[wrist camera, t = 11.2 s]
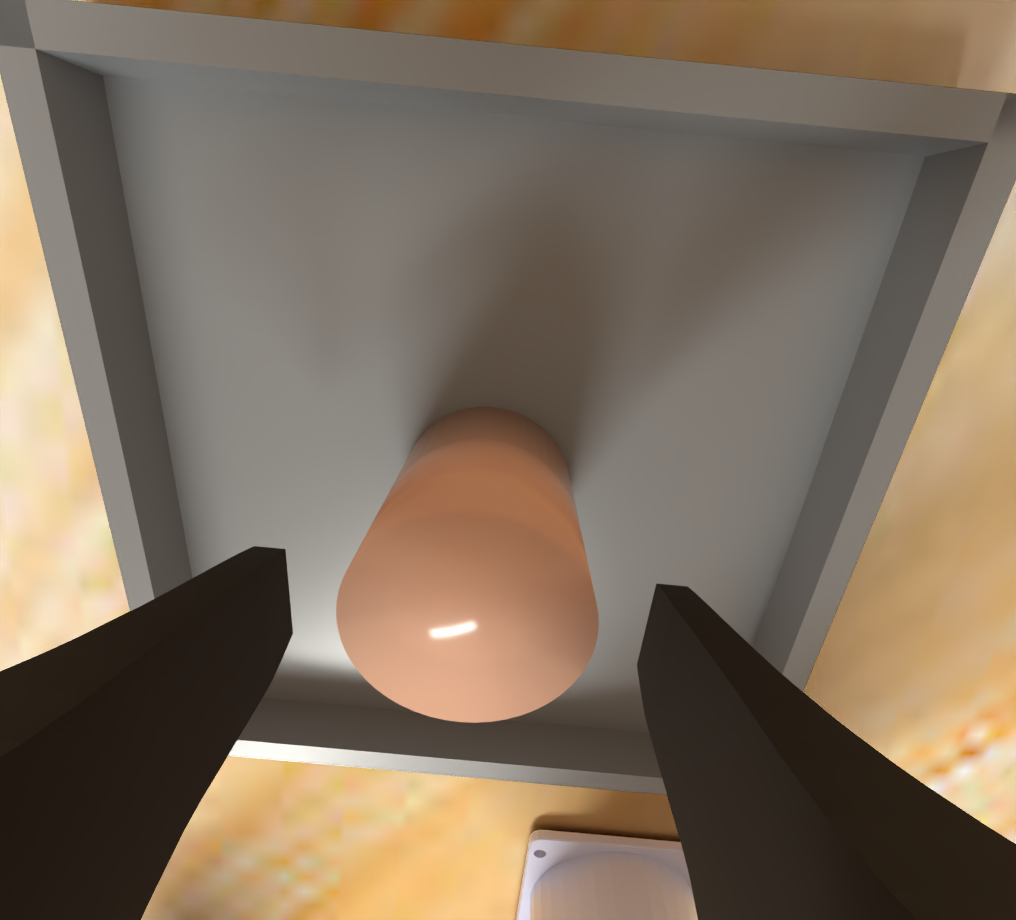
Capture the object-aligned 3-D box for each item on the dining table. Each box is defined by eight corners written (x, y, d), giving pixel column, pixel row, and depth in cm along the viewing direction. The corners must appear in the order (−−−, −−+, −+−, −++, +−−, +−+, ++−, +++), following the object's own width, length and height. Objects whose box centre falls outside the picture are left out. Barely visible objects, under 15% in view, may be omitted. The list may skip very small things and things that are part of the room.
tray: (729, 737, 20) (756, 803, 17) (206, 690, 20) (163, 749, 17) (948, 126, 12) (1049, 97, 10) (86, 41, 12) (-20, -9, 9)
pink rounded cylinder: (558, 562, 16) (579, 731, 10) (403, 549, 16) (340, 711, 10) (580, 415, 14) (619, 523, 9) (405, 399, 14) (330, 498, 8)
